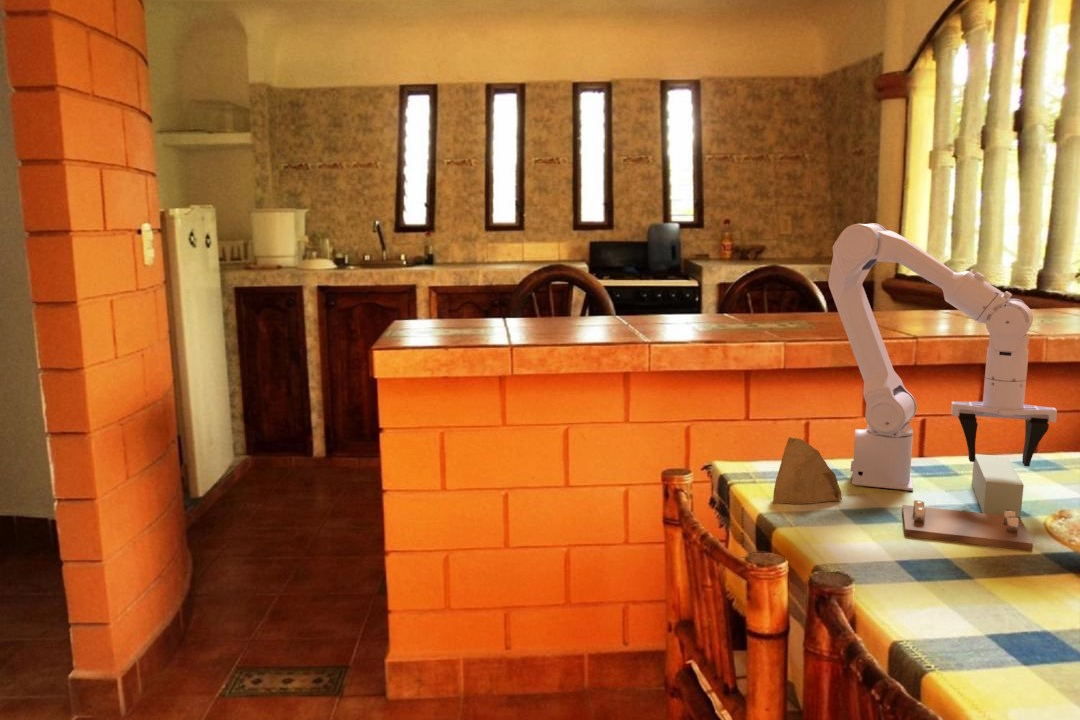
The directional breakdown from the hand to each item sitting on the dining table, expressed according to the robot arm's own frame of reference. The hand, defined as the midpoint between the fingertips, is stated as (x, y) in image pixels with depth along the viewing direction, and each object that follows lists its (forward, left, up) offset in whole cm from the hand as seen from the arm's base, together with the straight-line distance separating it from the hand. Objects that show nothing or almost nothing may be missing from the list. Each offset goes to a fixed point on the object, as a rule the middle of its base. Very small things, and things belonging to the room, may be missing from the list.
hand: (998, 462), depth 138 cm
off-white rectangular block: (0, 0, -7) cm, 7 cm away
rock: (-28, -10, -7) cm, 31 cm away
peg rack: (-6, -16, -6) cm, 18 cm away
